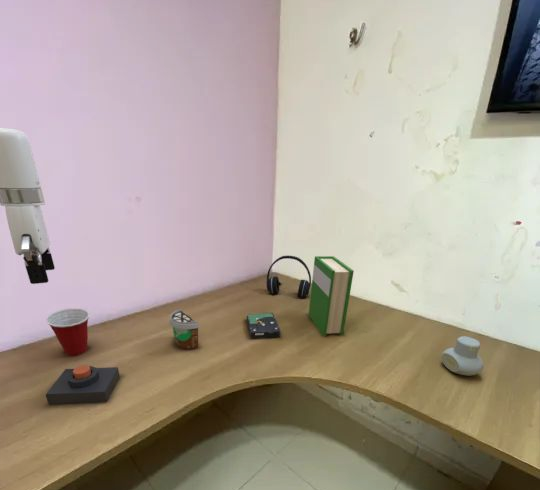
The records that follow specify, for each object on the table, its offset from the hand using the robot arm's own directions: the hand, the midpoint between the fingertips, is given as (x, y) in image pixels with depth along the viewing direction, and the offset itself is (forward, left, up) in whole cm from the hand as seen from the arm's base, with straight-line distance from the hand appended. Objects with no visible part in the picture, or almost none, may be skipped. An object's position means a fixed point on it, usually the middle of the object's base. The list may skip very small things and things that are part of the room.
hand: (43, 276), depth 71 cm
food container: (+27, +15, -28) cm, 42 cm away
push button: (+6, -6, -24) cm, 25 cm away
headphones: (+69, +57, -28) cm, 94 cm away
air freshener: (+111, -4, -28) cm, 115 cm away
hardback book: (+78, +27, -28) cm, 87 cm away
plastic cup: (-4, +13, -28) cm, 31 cm away
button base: (+6, -6, -28) cm, 29 cm away
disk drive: (+54, +25, -28) cm, 66 cm away
